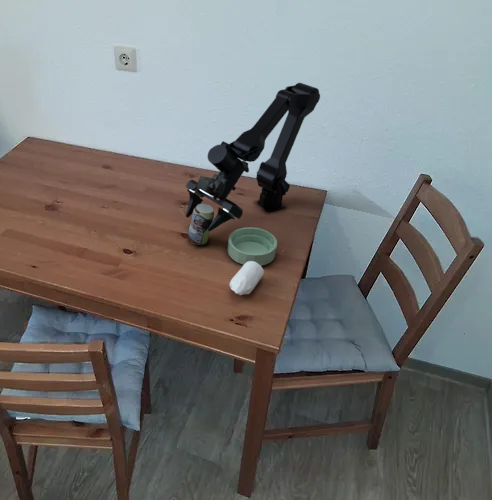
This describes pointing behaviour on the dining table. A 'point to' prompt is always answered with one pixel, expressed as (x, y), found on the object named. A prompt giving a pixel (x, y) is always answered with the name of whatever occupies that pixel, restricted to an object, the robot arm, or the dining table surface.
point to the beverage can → (200, 224)
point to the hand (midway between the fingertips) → (197, 223)
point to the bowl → (252, 246)
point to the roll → (246, 278)
